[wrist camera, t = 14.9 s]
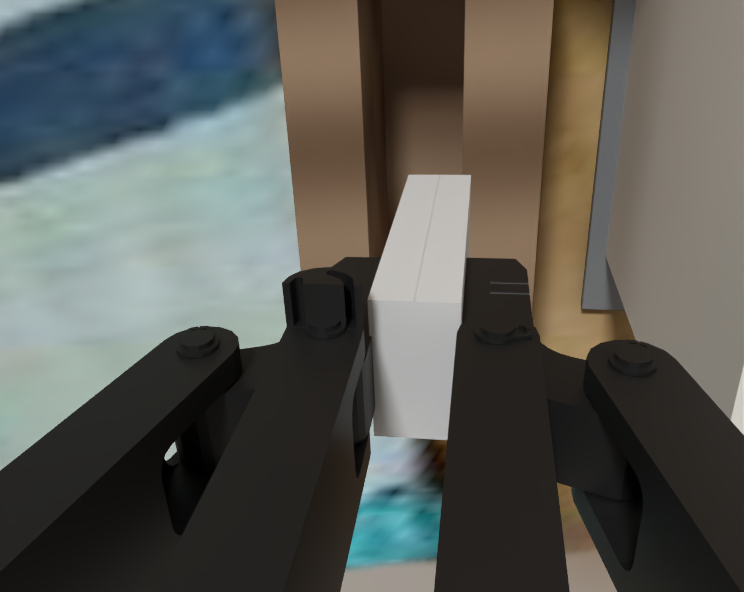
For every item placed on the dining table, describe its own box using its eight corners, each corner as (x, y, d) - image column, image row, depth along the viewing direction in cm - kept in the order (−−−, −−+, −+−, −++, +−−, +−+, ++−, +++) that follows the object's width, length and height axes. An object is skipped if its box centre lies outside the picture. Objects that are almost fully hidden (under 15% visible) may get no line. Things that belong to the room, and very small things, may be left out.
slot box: (520, 302, 31) (527, 380, 25) (339, 296, 32) (310, 370, 27) (546, -125, 23) (563, -140, 18) (311, -111, 25) (262, -122, 19)
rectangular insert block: (669, 256, 28) (826, 541, 15) (605, 255, 29) (704, 532, 16) (720, -48, 23) (1020, -17, 10) (641, -45, 24) (832, -12, 10)
